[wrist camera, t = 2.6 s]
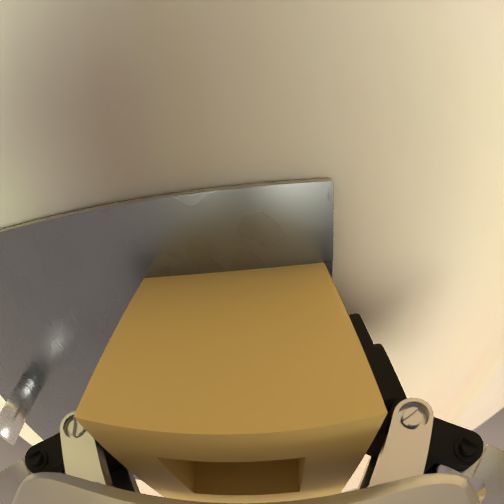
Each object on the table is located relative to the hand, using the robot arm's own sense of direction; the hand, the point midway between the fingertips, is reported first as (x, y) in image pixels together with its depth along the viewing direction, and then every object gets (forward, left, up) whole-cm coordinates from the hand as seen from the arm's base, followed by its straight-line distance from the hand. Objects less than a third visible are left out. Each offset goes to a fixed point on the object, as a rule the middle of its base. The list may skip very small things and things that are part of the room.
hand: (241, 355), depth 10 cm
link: (+6, 0, -1) cm, 6 cm away
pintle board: (+9, -11, -1) cm, 14 cm away
